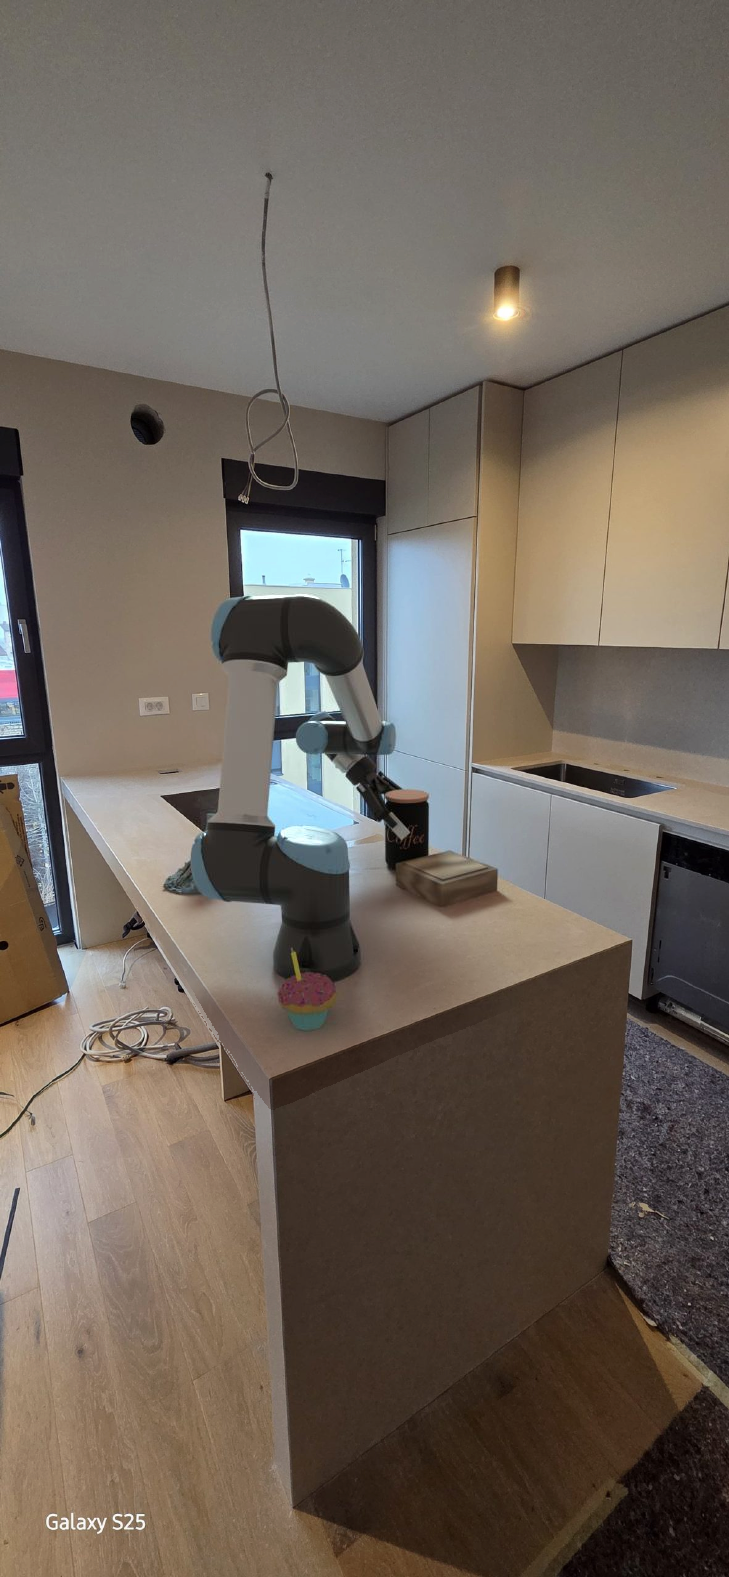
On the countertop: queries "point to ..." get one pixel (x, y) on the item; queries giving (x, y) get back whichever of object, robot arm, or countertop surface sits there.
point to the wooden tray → (446, 877)
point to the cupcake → (307, 997)
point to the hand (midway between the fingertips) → (414, 828)
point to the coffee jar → (407, 826)
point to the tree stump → (184, 877)
